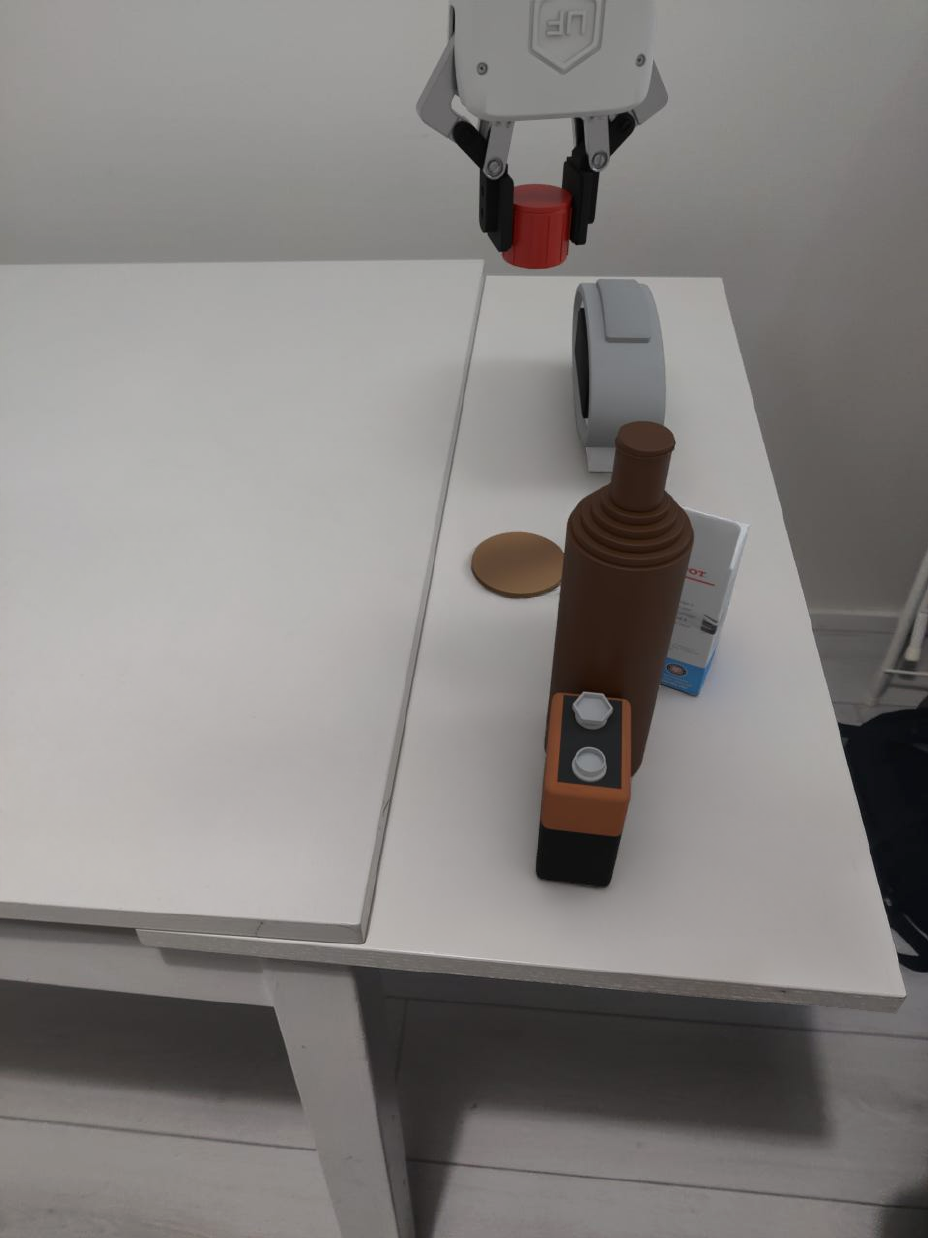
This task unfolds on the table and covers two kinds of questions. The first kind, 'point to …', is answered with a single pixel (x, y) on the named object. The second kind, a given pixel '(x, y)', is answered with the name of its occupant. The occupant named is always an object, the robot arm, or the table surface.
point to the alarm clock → (615, 364)
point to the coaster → (518, 564)
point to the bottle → (623, 582)
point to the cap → (539, 226)
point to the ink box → (703, 599)
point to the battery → (584, 788)
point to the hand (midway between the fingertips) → (535, 236)
